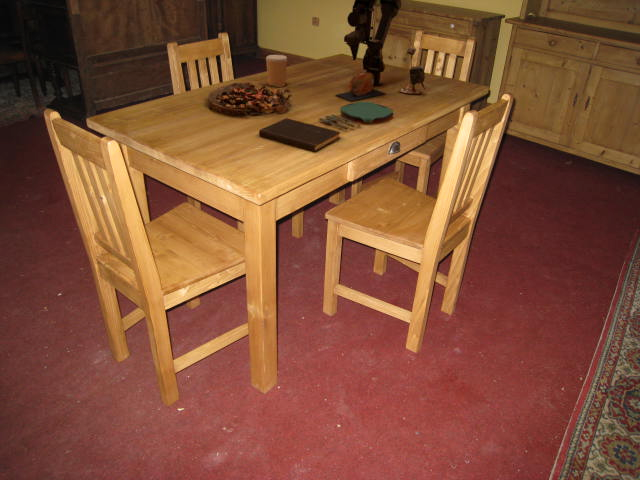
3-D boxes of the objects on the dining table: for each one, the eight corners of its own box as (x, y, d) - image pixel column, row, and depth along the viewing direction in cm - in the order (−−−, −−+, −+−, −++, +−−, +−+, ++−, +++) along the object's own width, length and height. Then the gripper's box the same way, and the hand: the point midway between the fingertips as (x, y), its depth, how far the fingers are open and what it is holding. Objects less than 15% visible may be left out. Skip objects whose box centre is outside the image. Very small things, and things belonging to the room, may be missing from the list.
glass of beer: (291, 84, 234) (291, 56, 227) (279, 88, 227) (278, 60, 221) (274, 80, 238) (274, 53, 231) (262, 84, 231) (261, 57, 225)
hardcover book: (286, 124, 188) (286, 118, 187) (340, 138, 178) (340, 131, 177) (258, 136, 177) (258, 130, 176) (314, 152, 167) (314, 145, 165)
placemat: (369, 88, 232) (369, 87, 231) (385, 94, 225) (385, 93, 225) (335, 95, 221) (335, 94, 220) (351, 101, 214) (351, 100, 214)
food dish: (308, 108, 208) (309, 89, 204) (245, 128, 188) (244, 107, 183) (251, 86, 227) (251, 68, 223) (188, 102, 207) (187, 83, 202)
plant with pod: (418, 97, 223) (425, 49, 213) (396, 91, 229) (401, 44, 218) (427, 93, 229) (434, 46, 218) (405, 88, 234) (411, 42, 224)
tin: (353, 97, 217) (354, 77, 213) (347, 96, 219) (348, 76, 215) (374, 90, 227) (376, 71, 223) (368, 89, 229) (370, 70, 225)
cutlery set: (402, 116, 200) (403, 111, 199) (349, 133, 182) (349, 127, 181) (364, 104, 212) (365, 98, 211) (311, 119, 194) (311, 113, 193)
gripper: (335, 21, 216) (333, 60, 225) (366, 29, 204) (363, 69, 213) (354, 19, 223) (352, 57, 231) (385, 26, 211) (382, 65, 219)
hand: (361, 62), depth 223 cm, fingers open, 9 cm apart
